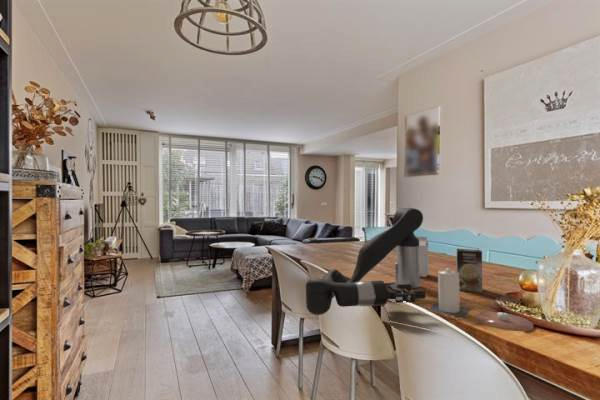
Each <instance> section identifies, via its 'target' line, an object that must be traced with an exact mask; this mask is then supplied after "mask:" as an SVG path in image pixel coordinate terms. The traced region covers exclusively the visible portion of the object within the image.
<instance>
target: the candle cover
mask: <svg viewBox="0 0 600 400" xmlns="http://www.w3.org/2000/svg"><path fill="white" fill-rule="evenodd" d="M437 285H438V287H437V290H438V292H437V293H438V303H439V309H440V310H441V311H444V312H449V313H456V312H459V311H460V305H461V303H460V302H461V301H460V300H461V298H460V290H459V273H458V272H457V271H454V270H452V269H451V268H449V267H448V268H446V269H445V270H438V272H437Z"/></svg>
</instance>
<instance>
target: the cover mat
mask: <svg viewBox="0 0 600 400" xmlns="http://www.w3.org/2000/svg"><path fill="white" fill-rule="evenodd" d="M471 309H472V308H471V307H465V306H460V311H459V312H456V313H449V312H444V311H441V310H440V309H439V302H434V303H433V304H432V305H431V306H430V307H429V308H428V309H427V310H428V311H427V312H429V311H430V313H436V314H441V315H446V316H450V317H451V316H452V317H458V318H463V319H466V318H467V316H468V314H469V312H470V310H471Z"/></svg>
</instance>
